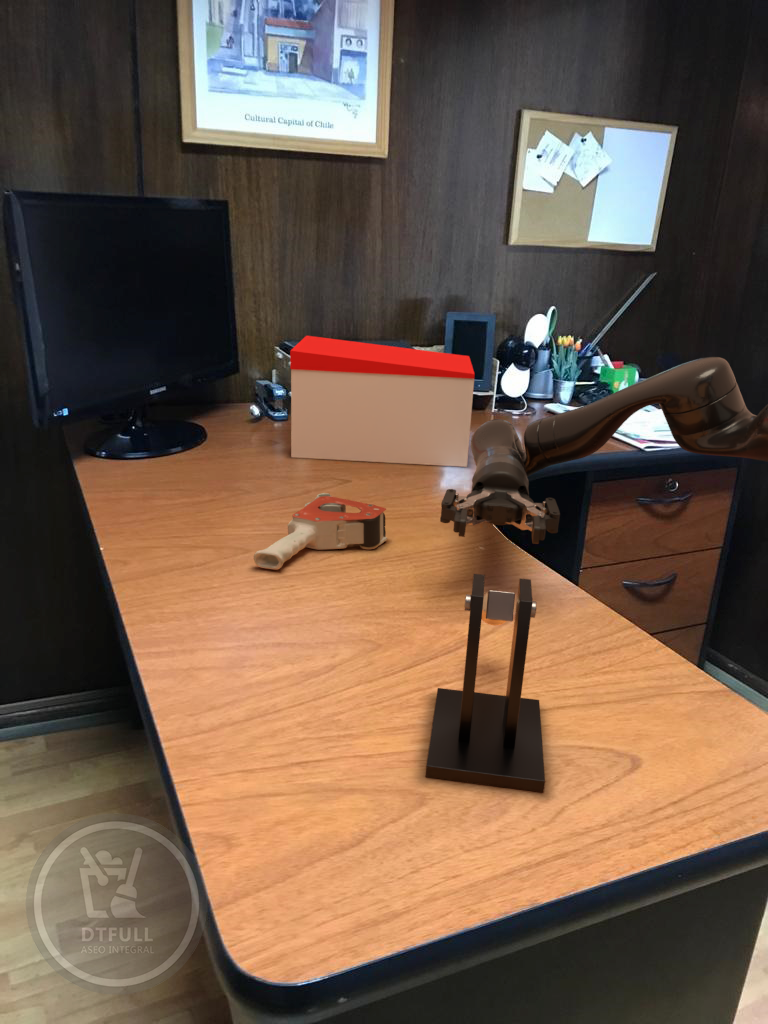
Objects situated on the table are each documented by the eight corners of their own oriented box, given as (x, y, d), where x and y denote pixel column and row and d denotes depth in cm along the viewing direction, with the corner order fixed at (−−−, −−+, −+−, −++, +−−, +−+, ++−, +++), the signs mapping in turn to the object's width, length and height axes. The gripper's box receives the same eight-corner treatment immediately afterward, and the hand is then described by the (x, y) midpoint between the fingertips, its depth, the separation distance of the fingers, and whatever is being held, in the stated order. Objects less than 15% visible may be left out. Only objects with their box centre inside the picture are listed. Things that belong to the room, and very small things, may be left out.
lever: (475, 623, 82) (478, 589, 82) (509, 627, 81) (512, 593, 82) (477, 624, 65) (481, 582, 65) (520, 629, 64) (524, 586, 65)
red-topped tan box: (304, 430, 172) (305, 335, 164) (462, 439, 170) (470, 343, 163) (289, 457, 152) (289, 350, 145) (467, 467, 151) (475, 360, 144)
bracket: (436, 697, 77) (448, 553, 72) (537, 710, 76) (557, 564, 71) (425, 777, 66) (437, 613, 61) (543, 792, 65) (567, 627, 59)
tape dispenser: (256, 584, 103) (402, 565, 107) (253, 549, 100) (401, 531, 105) (245, 529, 118) (372, 514, 123) (242, 497, 116) (372, 483, 120)
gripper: (550, 518, 105) (557, 568, 90) (445, 508, 106) (435, 556, 91) (557, 465, 102) (565, 508, 87) (449, 456, 104) (439, 496, 89)
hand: (498, 532), depth 89 cm, fingers open, 8 cm apart
